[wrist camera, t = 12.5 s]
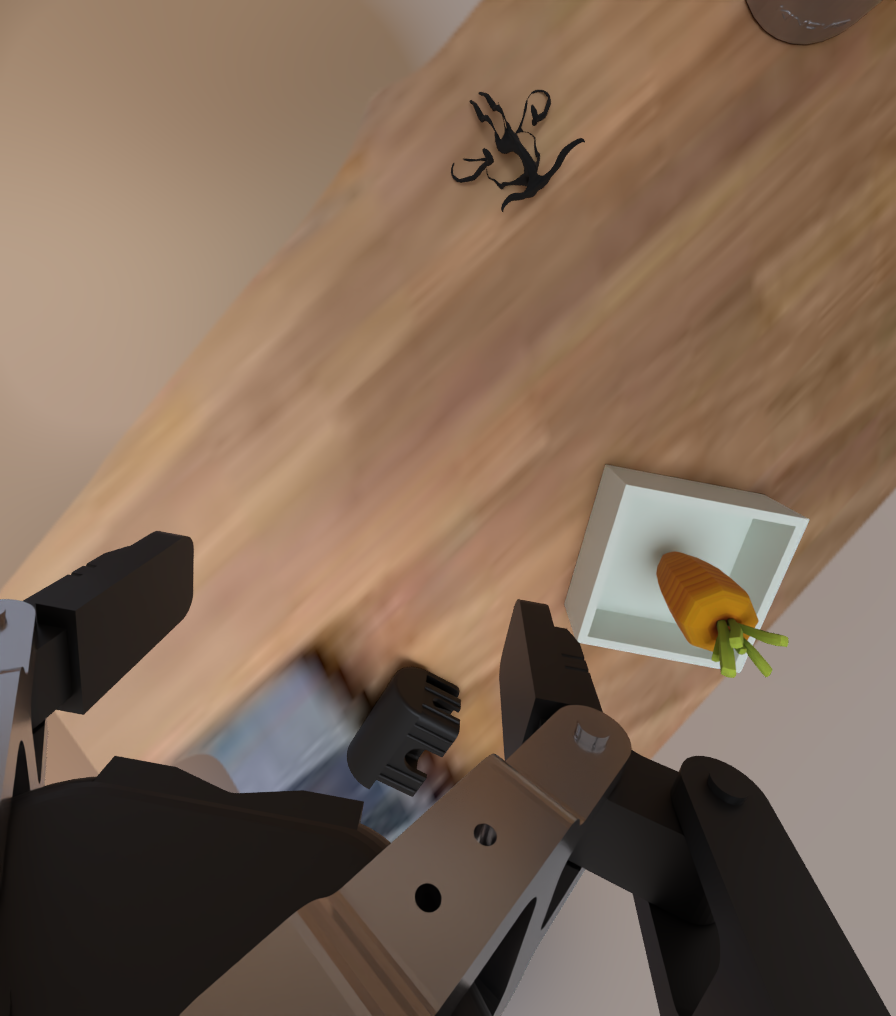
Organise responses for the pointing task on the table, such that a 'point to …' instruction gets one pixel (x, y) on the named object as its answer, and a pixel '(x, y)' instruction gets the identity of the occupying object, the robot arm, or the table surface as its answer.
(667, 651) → the bin
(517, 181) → the creature
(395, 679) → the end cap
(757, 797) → the robot arm
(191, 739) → the table surface
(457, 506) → the table surface
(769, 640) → the carrot
